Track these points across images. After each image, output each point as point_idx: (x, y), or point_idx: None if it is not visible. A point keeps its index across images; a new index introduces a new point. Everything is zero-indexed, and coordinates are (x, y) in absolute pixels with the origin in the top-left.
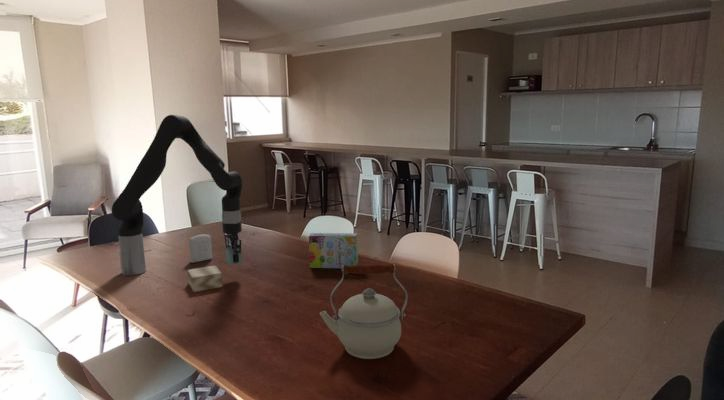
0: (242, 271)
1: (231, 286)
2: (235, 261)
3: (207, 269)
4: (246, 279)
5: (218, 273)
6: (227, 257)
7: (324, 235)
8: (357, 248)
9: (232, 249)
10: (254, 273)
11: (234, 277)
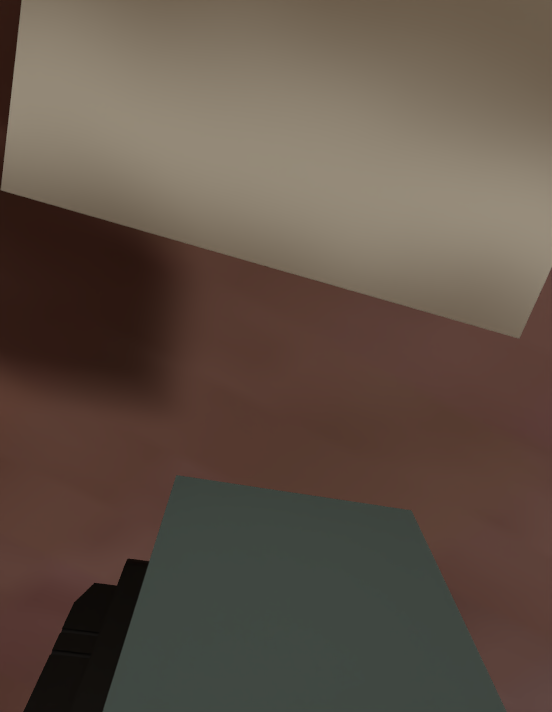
0: None
1: (27, 275)
2: (90, 595)
3: (426, 83)
4: (135, 502)
5: (12, 121)
6: (311, 582)
7: None
8: None
9: None
10: None
11: (293, 449)
